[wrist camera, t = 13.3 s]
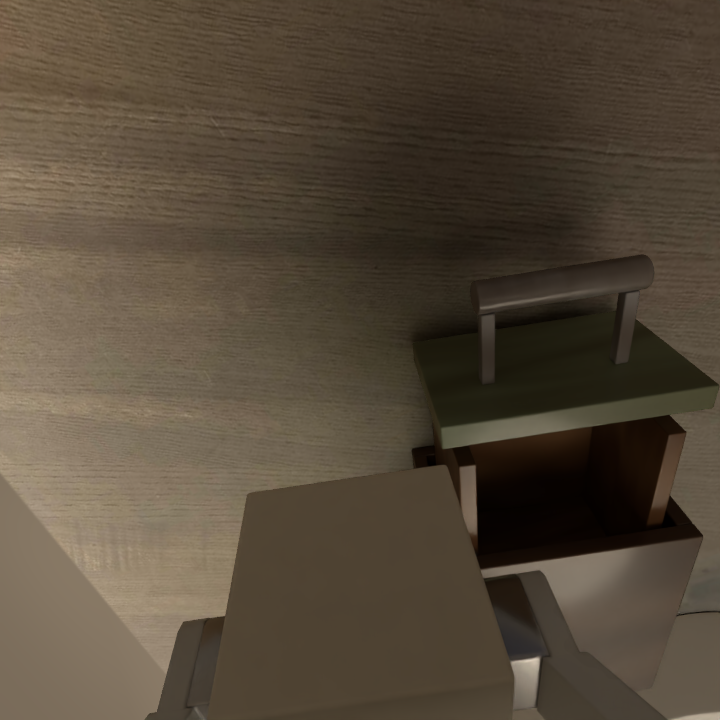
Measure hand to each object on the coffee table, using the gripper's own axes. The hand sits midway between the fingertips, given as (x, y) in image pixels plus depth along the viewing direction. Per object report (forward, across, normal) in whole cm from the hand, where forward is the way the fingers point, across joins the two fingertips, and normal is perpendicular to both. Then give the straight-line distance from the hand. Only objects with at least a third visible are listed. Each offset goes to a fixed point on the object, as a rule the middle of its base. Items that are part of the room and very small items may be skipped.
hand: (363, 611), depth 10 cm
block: (+2, 0, 0) cm, 2 cm away
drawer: (+17, -9, +7) cm, 20 cm away
